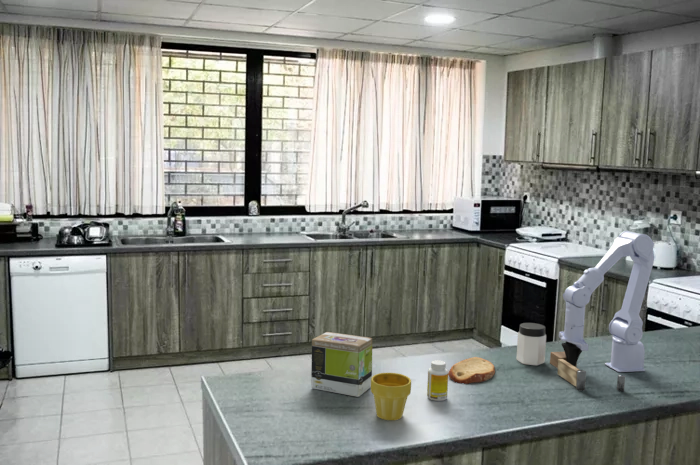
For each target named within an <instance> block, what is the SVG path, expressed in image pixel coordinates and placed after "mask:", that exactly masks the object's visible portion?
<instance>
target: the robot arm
mask: <svg viewBox="0 0 700 465" xmlns="http://www.w3.org/2000/svg"><path fill="white" fill-rule="evenodd" d="M654 246H655V242H654V241H653V240H652V238H651V237H650V236H649V235H647V234H646V233H639V232H634V231H631V230H623V231H622V232H620V233H619V235H618V236H617V237H616V238H614V239H613V243H612V245H611V247H610V248H609V249H608V251H607V252H606V253H605V254H604V255H603V256H602V258H601V259H600V260H599V262H597V264H596V265H595V267H589V268H587V269H585V270H584V271H583V274H582V275H581V276H580V277H579V278H578V280H576V281H574V282H573V285H570V286H567V288H566V289H565V290H564V293H562V299H563V300H564V301H565V314H564V316H565V317H564V329H563V331H559V332H558V338H559V339H560V341H562V342H561V347H562V349H563V352H565V355H566V360H567V362H568V363H570V364H571V365H573V366H576V363H577V364H578V360H579V357H580V356H581V353H582V352H585V351H586V352H587V351H589V344H588V343H587V342H586V341H585V339H584V331H585V330H584V329H585V317H586V315H585V314H586V306H587V304H589V303H590V300H591V296H592V294H593V292H594V291H596V289H597V288H598V287H599V286H600V285H601V284H602V283H603V282H604V280H605V277H604V276H605V274H606V273H608V271H609V270H610V269H611V268H612V267H613V266H614V265H615V264H616V263H618V262H619V260H621V259H622V258H624V257H630V259H631V260H632V262H633V265H632V269H631V271H630V276H629V280H628V282H627V286H626V290H625V294H624V297H623V302H622V304H621V305H622V306H621V309H619V310H617V311H616V312H615V313H614V316H613V318H612V320H611V321H610V322H609V324H608V331H609V333H610V335H611V339H612V343H611V354H610V362H605V363H604V365H606V366H607V367H609V368H610V369H613V370H615V371H616V372H617V373H629V372H645V371H646V369H645V368H644V367H645V354H646V350H645V345H644V344H643V342H642V341H641V339H642V338H643V335H644V334H643V324H644V321H643V320H642V318H641V316H640V312H641V308H642V304H643V301H644V299H645V296H646V291H647V287H648V283H649V280H650V277H651V273H652V270H653V266H654V263H655V259H654Z"/></svg>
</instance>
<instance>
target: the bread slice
mask: <svg viewBox="0 0 700 465" xmlns="http://www.w3.org/2000/svg"><path fill="white" fill-rule="evenodd" d="M495 372H496V368H495V365H494V364H493V362H491V361H489V360H487V359H484V358H482V357H478V356H473V357H469V358H465V359H463V360H460V361H458V362H456V363H454V364H453V365H452V366H451V367H450V369H449V370H448V378H449V379H450V380H451V381H452V380H453V381H452V382H453V383H456V382H457V383H458V384H462V383H464V384H465V385H469V383H470V384H476V383H477V384H478V383H479V384H480V383H484V382H486V381H489V380H490V379H492V378H493V377H494V375H495ZM457 383H456V384H457Z"/></svg>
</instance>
